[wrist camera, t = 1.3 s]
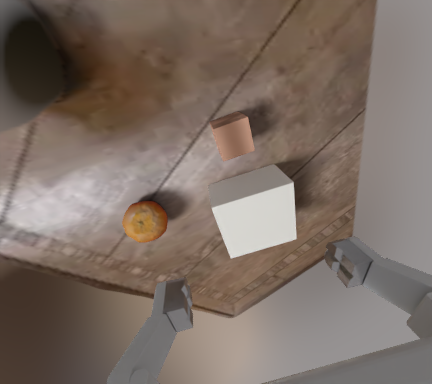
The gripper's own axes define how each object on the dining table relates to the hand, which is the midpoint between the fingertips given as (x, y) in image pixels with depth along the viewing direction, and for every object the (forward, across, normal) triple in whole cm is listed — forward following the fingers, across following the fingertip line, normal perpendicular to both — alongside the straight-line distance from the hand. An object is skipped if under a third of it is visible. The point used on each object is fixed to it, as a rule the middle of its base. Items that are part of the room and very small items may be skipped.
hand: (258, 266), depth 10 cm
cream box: (+26, -6, +13) cm, 29 cm away
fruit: (+26, +14, +10) cm, 32 cm away
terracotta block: (+25, -4, -3) cm, 25 cm away
